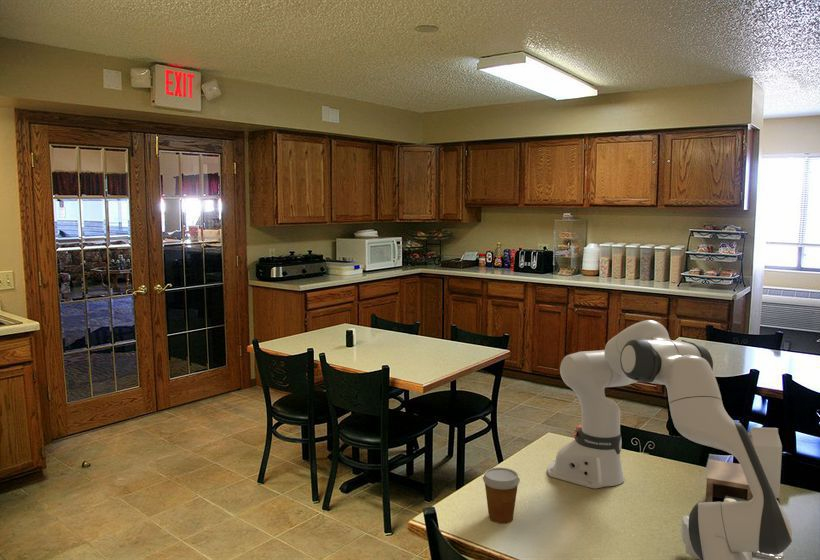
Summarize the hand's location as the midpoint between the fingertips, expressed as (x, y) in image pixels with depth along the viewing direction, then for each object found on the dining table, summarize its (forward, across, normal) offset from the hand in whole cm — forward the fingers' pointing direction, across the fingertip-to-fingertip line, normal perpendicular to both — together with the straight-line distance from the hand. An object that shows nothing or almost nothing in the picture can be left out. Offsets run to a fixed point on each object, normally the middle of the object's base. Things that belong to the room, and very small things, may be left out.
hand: (729, 521), depth 146 cm
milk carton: (+36, -8, +6) cm, 38 cm away
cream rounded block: (+7, -1, +6) cm, 9 cm away
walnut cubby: (+21, 0, +6) cm, 22 cm away
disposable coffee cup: (-12, +53, +6) cm, 55 cm away
